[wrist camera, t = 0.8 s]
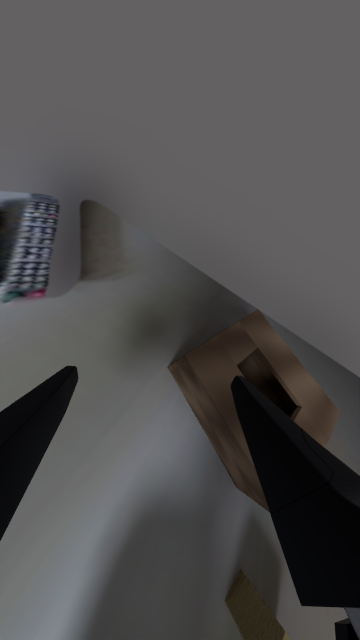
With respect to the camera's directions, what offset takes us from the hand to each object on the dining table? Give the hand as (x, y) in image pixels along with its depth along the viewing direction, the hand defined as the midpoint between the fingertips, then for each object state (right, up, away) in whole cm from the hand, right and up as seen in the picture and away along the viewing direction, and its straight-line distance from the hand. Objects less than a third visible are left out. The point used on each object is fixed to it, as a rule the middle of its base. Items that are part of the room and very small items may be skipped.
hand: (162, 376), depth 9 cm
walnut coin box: (+9, -7, +15) cm, 19 cm away
